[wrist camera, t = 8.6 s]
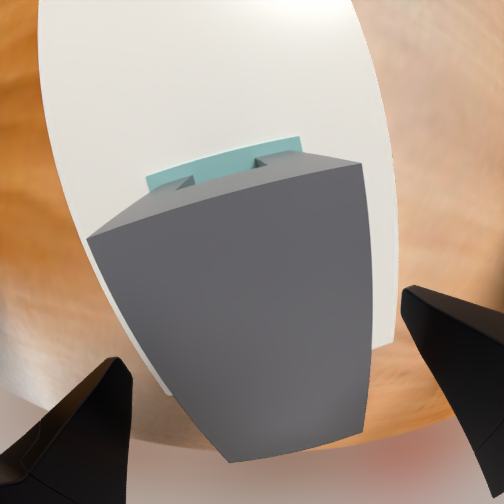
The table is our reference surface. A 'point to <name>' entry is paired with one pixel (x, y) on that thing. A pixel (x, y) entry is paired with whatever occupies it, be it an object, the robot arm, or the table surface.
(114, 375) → the robot arm
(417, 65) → the table surface
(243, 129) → the pin board
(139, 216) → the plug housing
